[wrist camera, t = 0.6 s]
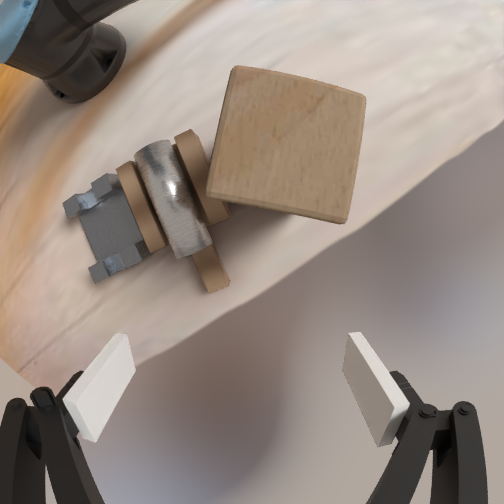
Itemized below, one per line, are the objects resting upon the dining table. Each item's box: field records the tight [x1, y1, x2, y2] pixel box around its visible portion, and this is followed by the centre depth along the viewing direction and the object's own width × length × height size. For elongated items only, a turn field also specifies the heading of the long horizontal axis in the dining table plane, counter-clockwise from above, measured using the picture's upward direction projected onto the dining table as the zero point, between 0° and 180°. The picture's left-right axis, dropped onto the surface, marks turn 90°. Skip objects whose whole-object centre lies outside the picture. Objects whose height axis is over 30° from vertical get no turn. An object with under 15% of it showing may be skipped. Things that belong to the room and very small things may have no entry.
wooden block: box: [205, 66, 366, 224], centre depth 27 cm, size 10×10×20 cm
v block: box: [62, 173, 152, 283], centre depth 36 cm, size 13×9×4 cm
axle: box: [134, 140, 213, 259], centre depth 33 cm, size 14×5×5 cm, turn 23°
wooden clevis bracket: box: [116, 129, 232, 293], centre depth 36 cm, size 20×11×5 cm, turn 23°
